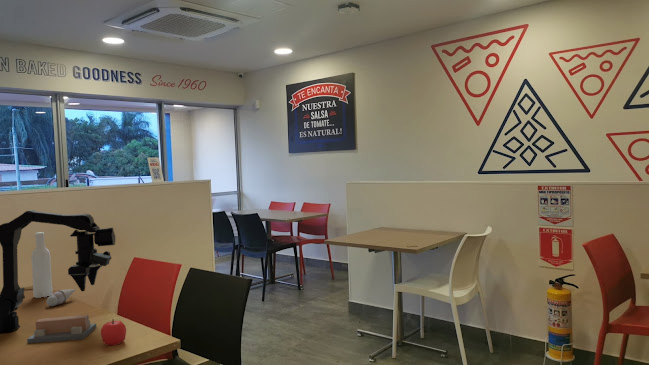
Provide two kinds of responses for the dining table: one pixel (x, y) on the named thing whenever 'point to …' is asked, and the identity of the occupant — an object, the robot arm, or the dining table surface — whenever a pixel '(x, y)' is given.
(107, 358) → the dining table surface
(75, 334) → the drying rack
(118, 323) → the apple
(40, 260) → the bottle
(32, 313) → the dining table surface
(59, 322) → the clay strip
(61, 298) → the ice cream cone
